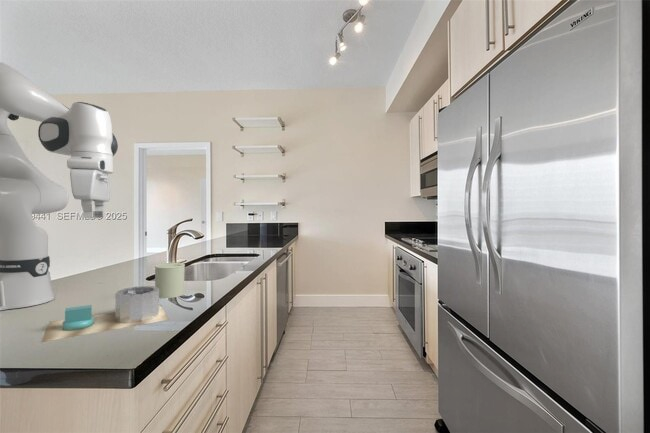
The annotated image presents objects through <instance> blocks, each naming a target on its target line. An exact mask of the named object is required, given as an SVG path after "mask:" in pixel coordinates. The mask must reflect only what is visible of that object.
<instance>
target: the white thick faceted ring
mask: <svg viewBox="0 0 650 433" xmlns="http://www.w3.org/2000/svg"><path fill="white" fill-rule="evenodd" d="M114 305H115V321H117V322H120V323H136V322H143V321H146V320H150V319H153V318H155V317H156V316H158V314H159V306H160V298H159V288H158V287H155V285H153V286H151V285H143V286H142V285H141V286H131V287H126V288H122V289H120V290H117V291H116V293H115V304H114Z"/></svg>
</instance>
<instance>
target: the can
mask: <svg viewBox="0 0 650 433" xmlns="http://www.w3.org/2000/svg"><path fill="white" fill-rule="evenodd" d="M185 266H186V264H185V263H182V262H168V263H159V264H156V265H155V266H154V279H155V280H154V286H155V287H158V288H159V299H173V298H177V297H181V296H185Z"/></svg>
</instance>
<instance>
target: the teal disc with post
mask: <svg viewBox="0 0 650 433" xmlns="http://www.w3.org/2000/svg"><path fill="white" fill-rule="evenodd" d="M92 308H93V306H92V304H89V305H80V306H73V307H65V311H64V320H65V321H63V330H66V331H74V330H80V329H85V328H88V327H90V326H92V325H93V324H94V317H93V316H94V315H92V310H93V309H92Z"/></svg>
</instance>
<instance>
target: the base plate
mask: <svg viewBox="0 0 650 433" xmlns="http://www.w3.org/2000/svg"><path fill="white" fill-rule="evenodd" d="M92 316H93V317H94V324H93V325H92V326H90V327H88V328H85V329H80V330H74V331H66V330H63V321H65V319H62V320H54V321H50V322H49V323H48V326H47V328H46V331H45V333H44V335H43V337H42V340H41V343H45V342H51V341H56V340H61V339H68V338H74V337H79V336H85V335H90V334H96V333H101V332H107V331H113V330H118V329H125V328H129V327H130V328H131V327H136V326H141V325H147V324H152V323H158V322H164V321H169V320H170V319H169V317H168V315H167V314H166V312H165V310H164V309H163V306H162V305H159V314H158V316H156V317H155V318H153V319H150V320H146V321H143V322H136V323H120V322H117V321H115V312H109V313H101V314H94V315H92Z"/></svg>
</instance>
